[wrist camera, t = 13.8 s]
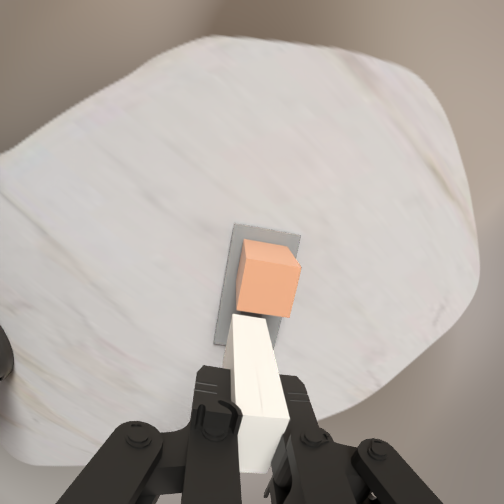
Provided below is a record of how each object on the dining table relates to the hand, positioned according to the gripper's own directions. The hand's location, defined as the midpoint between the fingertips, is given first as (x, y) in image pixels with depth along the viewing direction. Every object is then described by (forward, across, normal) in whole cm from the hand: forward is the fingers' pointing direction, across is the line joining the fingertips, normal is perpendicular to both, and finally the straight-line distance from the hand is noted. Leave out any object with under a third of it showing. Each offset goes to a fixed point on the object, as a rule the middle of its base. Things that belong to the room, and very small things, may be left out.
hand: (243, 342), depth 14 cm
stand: (+25, +4, -6) cm, 26 cm away
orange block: (+24, +4, -2) cm, 24 cm away
